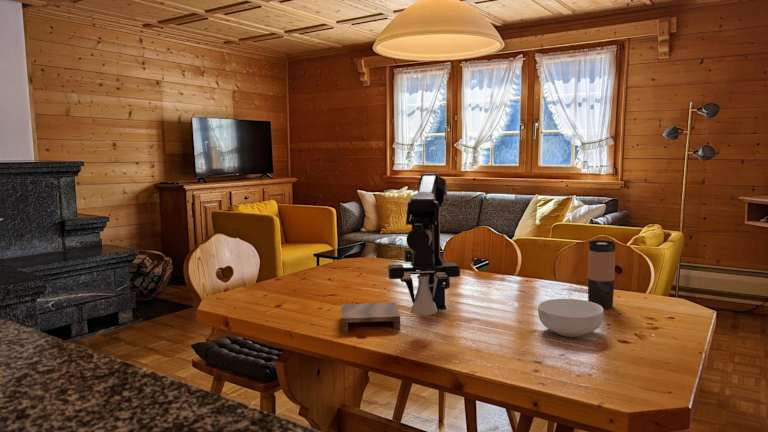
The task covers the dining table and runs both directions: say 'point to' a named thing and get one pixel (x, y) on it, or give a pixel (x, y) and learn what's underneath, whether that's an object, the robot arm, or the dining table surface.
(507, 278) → the dining table surface
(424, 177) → the robot arm
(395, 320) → the walnut shelf
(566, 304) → the cereal bowl
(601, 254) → the travel mug
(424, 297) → the flask
